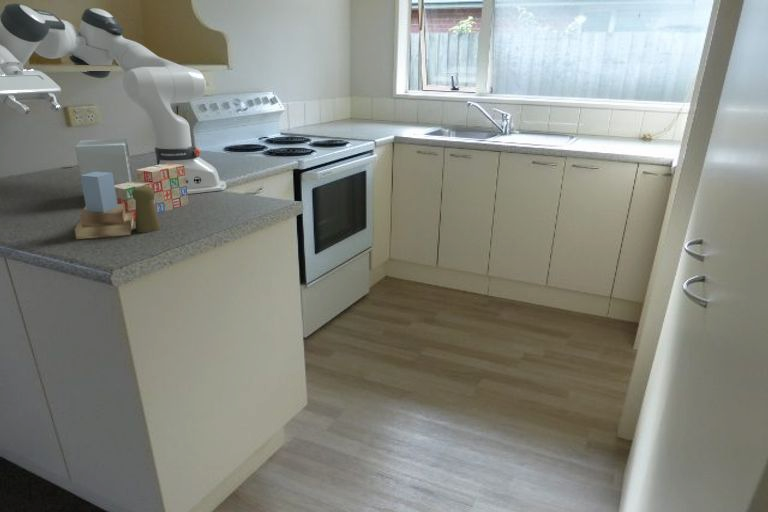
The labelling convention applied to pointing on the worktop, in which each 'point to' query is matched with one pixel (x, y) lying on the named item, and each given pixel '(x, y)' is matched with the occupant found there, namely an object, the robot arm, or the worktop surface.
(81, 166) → the supplement box
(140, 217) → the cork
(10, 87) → the robot arm
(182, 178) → the stack of blocks
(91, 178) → the pillar
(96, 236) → the plinth
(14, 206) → the worktop surface
